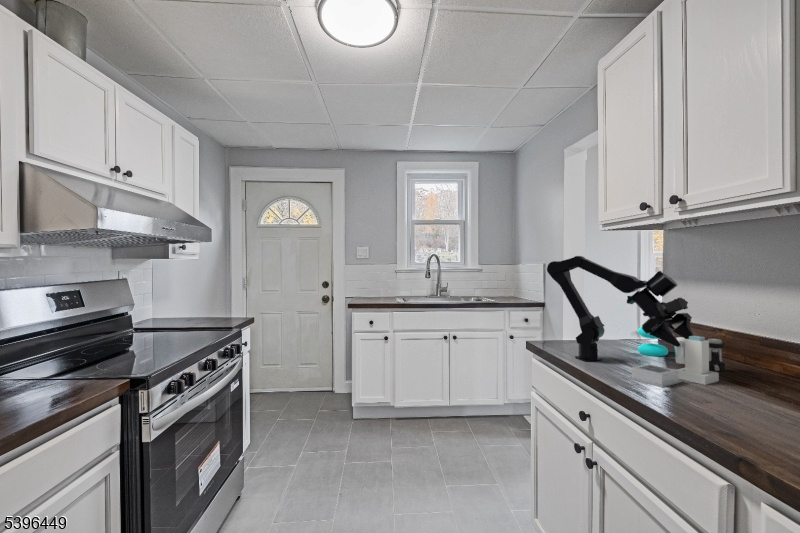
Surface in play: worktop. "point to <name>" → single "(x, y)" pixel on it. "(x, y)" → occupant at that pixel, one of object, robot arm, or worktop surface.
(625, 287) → the robot arm
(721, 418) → the worktop surface
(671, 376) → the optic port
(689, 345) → the plug
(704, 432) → the worktop surface
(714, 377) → the grey square tray
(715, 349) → the black and grey device
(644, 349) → the donuts
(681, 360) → the milkshake
